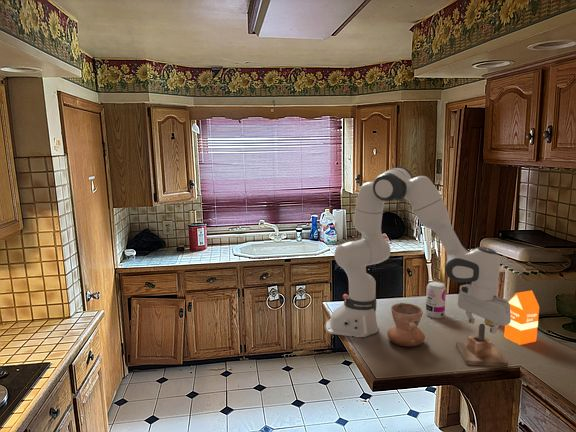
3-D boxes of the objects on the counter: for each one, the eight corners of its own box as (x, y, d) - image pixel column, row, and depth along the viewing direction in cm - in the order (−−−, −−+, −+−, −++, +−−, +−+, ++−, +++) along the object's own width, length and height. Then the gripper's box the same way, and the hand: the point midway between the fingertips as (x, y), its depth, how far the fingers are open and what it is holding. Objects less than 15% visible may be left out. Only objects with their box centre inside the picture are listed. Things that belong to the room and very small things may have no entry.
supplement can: (446, 313, 196) (447, 282, 194) (441, 320, 190) (443, 288, 187) (428, 310, 201) (429, 280, 198) (423, 316, 194) (424, 285, 191)
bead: (476, 356, 154) (477, 343, 153) (466, 348, 160) (467, 336, 159) (491, 355, 155) (492, 342, 154) (481, 347, 161) (482, 335, 160)
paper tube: (484, 325, 183) (488, 270, 179) (483, 319, 189) (487, 265, 185) (502, 328, 181) (506, 271, 176) (500, 321, 187) (504, 267, 183)
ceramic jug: (430, 351, 161) (432, 316, 159) (392, 352, 161) (394, 316, 159) (416, 332, 179) (417, 299, 177) (382, 332, 179) (383, 300, 177)
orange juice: (503, 336, 173) (507, 290, 169) (520, 333, 176) (524, 287, 172) (520, 345, 166) (524, 296, 162) (536, 341, 168) (541, 293, 165)
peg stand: (465, 364, 152) (467, 331, 150) (455, 345, 166) (457, 315, 163) (506, 366, 150) (509, 333, 148) (493, 347, 164) (495, 317, 162)
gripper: (516, 299, 146) (513, 337, 148) (467, 282, 164) (465, 316, 166) (504, 302, 143) (501, 341, 145) (456, 285, 161) (454, 319, 163)
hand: (481, 327), depth 156 cm, fingers open, 8 cm apart
